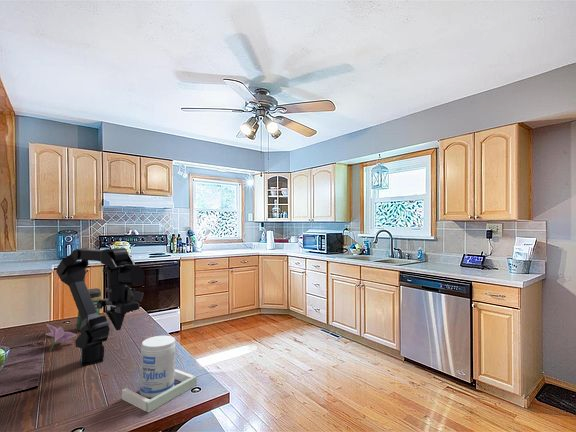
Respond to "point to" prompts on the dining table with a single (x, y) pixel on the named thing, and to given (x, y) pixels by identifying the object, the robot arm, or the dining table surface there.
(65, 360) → the dining table surface
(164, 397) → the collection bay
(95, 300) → the coffee jar
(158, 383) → the supplement tub
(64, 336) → the lily
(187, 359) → the dining table surface
